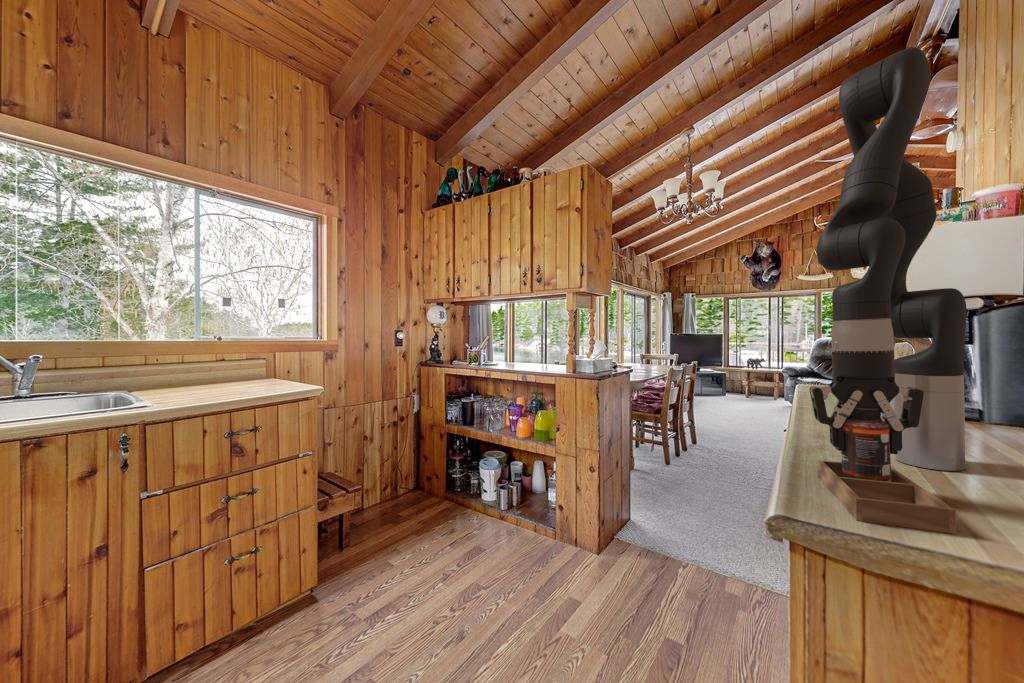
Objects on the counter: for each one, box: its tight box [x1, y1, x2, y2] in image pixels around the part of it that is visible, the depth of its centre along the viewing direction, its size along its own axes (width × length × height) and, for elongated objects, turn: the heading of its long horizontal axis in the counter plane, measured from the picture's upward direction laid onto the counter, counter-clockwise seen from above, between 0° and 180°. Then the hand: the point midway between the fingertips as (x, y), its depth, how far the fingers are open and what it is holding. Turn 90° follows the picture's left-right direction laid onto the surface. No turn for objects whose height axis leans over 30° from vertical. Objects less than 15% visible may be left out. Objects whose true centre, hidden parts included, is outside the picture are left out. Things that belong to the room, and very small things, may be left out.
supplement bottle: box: [840, 408, 892, 481], centre depth 63 cm, size 6×6×11 cm
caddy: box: [817, 459, 957, 535], centre depth 59 cm, size 18×10×3 cm, turn 155°
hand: (864, 450), depth 63 cm, fingers closed on supplement bottle, 6 cm apart
